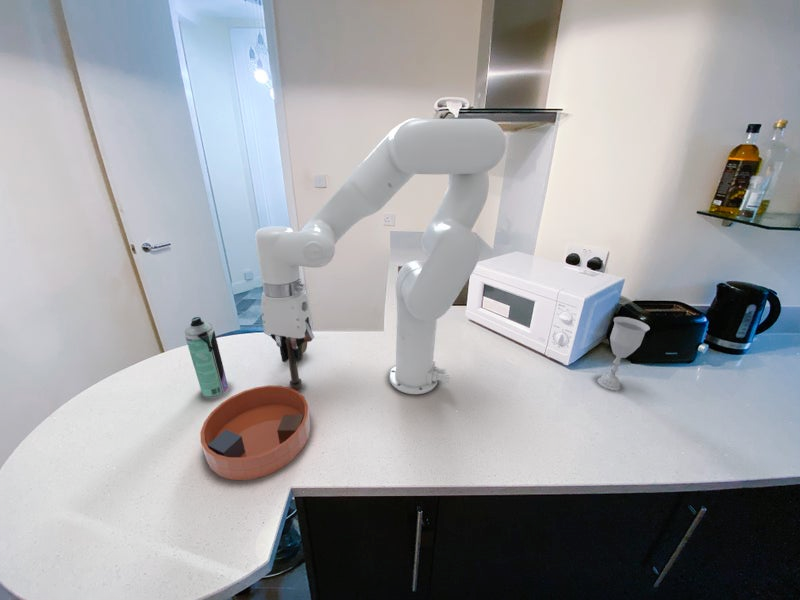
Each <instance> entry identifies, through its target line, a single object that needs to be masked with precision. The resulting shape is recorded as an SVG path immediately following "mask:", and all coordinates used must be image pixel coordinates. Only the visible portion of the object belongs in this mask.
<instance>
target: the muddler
mask: <svg viewBox="0 0 800 600" xmlns="http://www.w3.org/2000/svg"><path fill="white" fill-rule="evenodd" d="M285 343H286V349H287V356H288V360H287V361H288V368H289V375H290V380H289V387H290V388H292V389H294V390H296V391H298V392H299V391H301V389H302V388H303V380H302V379H301V378H300V376H299V374H300V373H299V368H298V361H297V362H296V363H295V364H293V363H292V360H291V353H290V349H291V348H292V343H291V337H288V338H286V339H285Z"/></svg>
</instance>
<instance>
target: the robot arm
mask: <svg viewBox="0 0 800 600" xmlns="http://www.w3.org/2000/svg"><path fill="white" fill-rule="evenodd" d="M506 147H507V140H506V135H505V132H504V130H503V129H502V127H501V126H500V125H499V124H498V123H497V122H495V121H493V120H491V119H489V118H428V117H427V118H425V117H424V118H423V117H422V118H421V117H420V118H411V119H408V120H405V121H403V122H401V123H400V124H397V126H395V127H393V128H392V130H390V132H389V133H388V134H387V135H386V136H385V137H384V138H383V139H382V140H381V141H380V142H379V144H378V145H376V147H375V148H374V149H372V151H371V152H370V153H369V154H368V155H367V156H366V157H365V158H364V160H362V162H361V163H360V164H358V166H357V167H356V168H355V169H354V170H353V172H351V174H349V176H348V177H347V178H346V179H345V180H344V181H343V183H341V185H340V186H339V188H338V189H337V190H336V192H334V193H333V195H332V196H331V197H330V198H328V200H327V201H326V202H325V203H324V204H323V205H322V206H321V208H319V209H318V211H317V212H316V213H315V214H313V216H312V217H311V218H310V219H309V220H308V222H307V223H306V224H305V225H304V226H303V227H302V229H300V230H299V231H294V230H293V228H291V227H288V226H283V225H270V226H264V227H261V228H259V229H257V230H256V231H255V234H254V239H255V246H256V247H255V248H256V254H257V259H258V260H257V261H258V265H259V273H260V277H261V284H262V290H263V291H262V293H261V301H260V308H261V310H260V311H261V320H262V326H263V333H264V335H267V336H269V337H271V339H272V340H273V341H274V342H275V343H276V346H277V347H278V348H279V353H280V356H281V362H282V363H286V362H287V361H288V356H287V349H286V343H285V339H286V338H288V337H291V343H292V348H291V349H290V353H291V360H292V363H293V364H295V363H296V362H297V363H298V361H299V359H300V358H301V357H302V350H301V344H303V343H304V342H307V343H309V342H312V341H313V340H314V339H315V335H314V333H313V329H314V322H313V321H314V320H313V316H312V315H313V314H312V309H311V306H310V305H311V304H310V301H309V298H308V296H307V293H306V289H307V285H306V284H305V283H302V278H301V274H300V267H304V268H313V269H315V268H323V267H325V266H328V265H329V264H330V263H331V262H332V260H333V259H334V256H335V252H336V244H337V243H338V242H339V241H340V240H341V239H342V237H344V235H345V234H347V232H348V231H349V230H350V229H351V228H353V226H355V225H356V224H357V223H358V222H360V221H362V220H363V219H365V218H367V217H370V216H372V215H375V214H376V213H378V212H379V211H380V210H381V209H383V208H384V207H385V205H387V204H388V202H389V201H390V200H392V198H393V197H394V196H395V195H396V194H397V193H398V191H400V190H401V189H402V188H403V187H404V186H405V185H406V184H407V183H408V182H409V181H410V180H411V179H412V178H413V177H414V176H415V175H448V182H447V187H446V190H445V193H444V195H443V196H442V199H441V201H440V203H439V204H438V207H437V208H436V210H435V212H434V214H433V216H432V218H431V219H430V221H429V223H428V225H427V227H426V228H425V230H424V232H423V234H422V237H421V247H422V251H423V253H424V254H425V256H427V258H426V260H425V261H424V260H420V259H414V260H410V261H408V262H406V263H404V265H403V266H402V267H400V269H399V271H398V273H397V275H396V280H395V293H396V297H395V298H396V335H395V336H396V338H395V339H396V340H395V365H394V366H393V367H392V368H391V370H390V371H389V382H390V384H391V385H392V387H393V388H394V389H396V390H397V391H399V392H401V393H405V394H408V395H421V394H426V393H429V392H430V391H432V390H433V389H435V387H436V386H437V384H438V381H439V382H443V383H450V378H451V375H450V374H446V373H447V369H445V368H438V367H437V366H436V361H435V360H434V356H435V346H436V345H435V344H436V333H437V325H438V319H439V320H440V319H441V318H442V317H443V316H445V314H447V313H448V311H449V310H450V309H451V308H452V306H453V304H455V301H456V300H457V298H458V297H459V295H460V293H461V292H462V291H463V288H464V287H465V286H466V284H467V282H468V281H469V279H470V277H471V276H472V274H473V272H474V270H475V269H476V266H477V265H478V262H479V258H480V253H481V245H480V241H479V238H478V237H477V235H476V234H475V233H474V232H473V231H472V230H473V228H474V227H475V224H476V223H477V221H478V219H479V217H480V215H481V213H482V211H483V209H484V207H485V205H486V202H487V199H488V195H489V188H490V179H489V171H491V170H493V169H494V168H495V167H497V165H498V164H500V162H501V161H502V158H503V157H504V155H505V152H506ZM302 358H303V357H302ZM302 358H301V359H302ZM301 359H300V360H301Z"/></svg>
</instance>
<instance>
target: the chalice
mask: <svg viewBox="0 0 800 600" xmlns="http://www.w3.org/2000/svg"><path fill="white" fill-rule="evenodd" d="M613 322H614V324H613V326H612V327H613V328H612V330H611V333H610V337H609V341H610V347H611V351H612V354H613V355H614V356H615V359H614V360H613V361H612V363H613V364H612V366H610V367H609V368H610V372H609V373H608V372H607V373H603V374H602V375H601V376H600V377H599V378H597V383H598V384H599V385H600V386H602V387H603V388H604V389H607V390H610V391H618V390H620V389H621V386H620V384H621V383H620V380H619V379H620V378H619V377H618V376H616V373H617V372H618V371H619V365H621V360H622V359H626V358H628V357H629V356H630V355H632V354H633V353H634V352H635V351H637V349H638V348H640V346H641V344H642V342H643V340H644V337H645V335H646V333H647V332H648V331H650V329H651V328H650V326H649V325H648V324H647V323H645V322H643V321H641V320H638V319H635V318H631V317H627V316H615V317H613Z"/></svg>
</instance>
